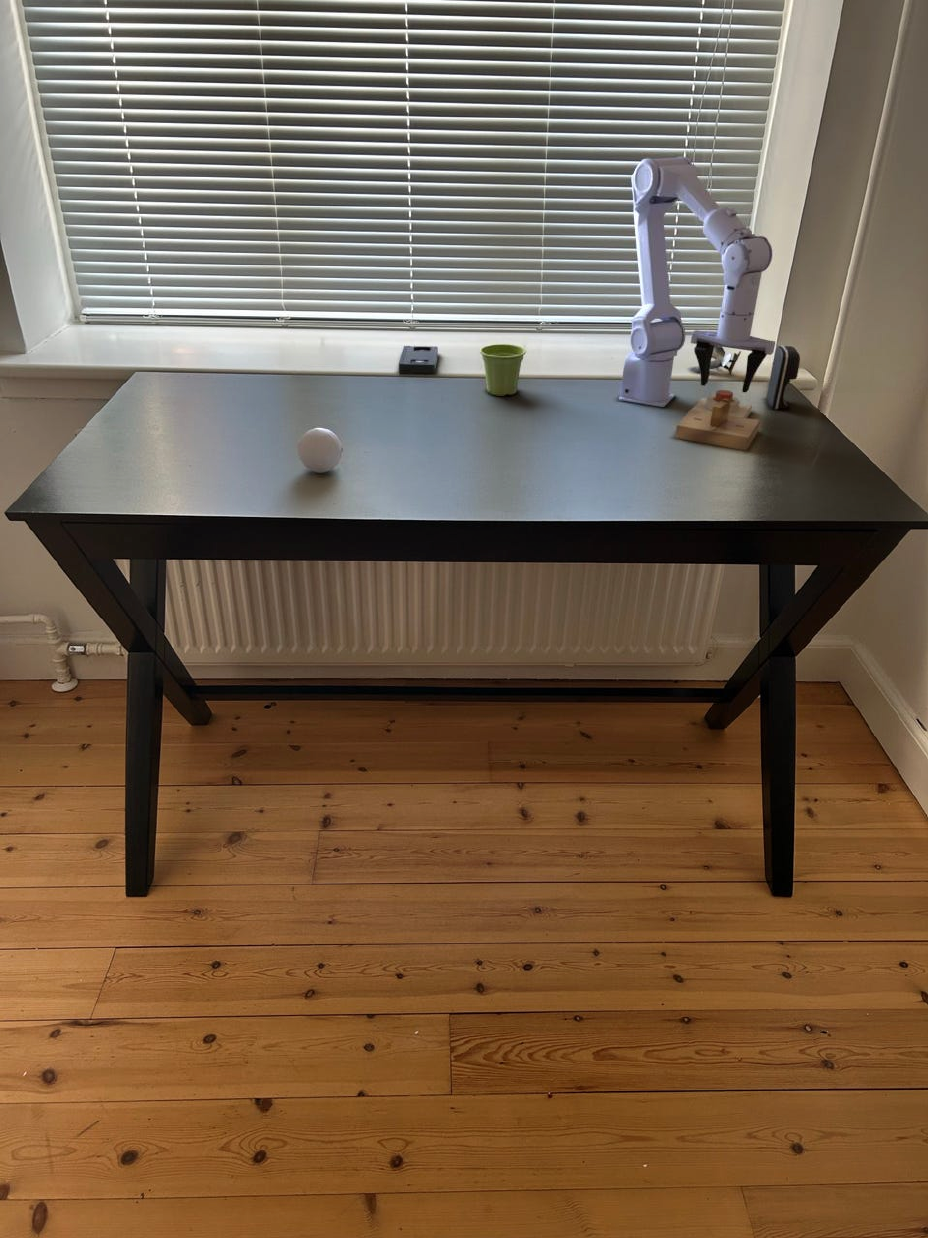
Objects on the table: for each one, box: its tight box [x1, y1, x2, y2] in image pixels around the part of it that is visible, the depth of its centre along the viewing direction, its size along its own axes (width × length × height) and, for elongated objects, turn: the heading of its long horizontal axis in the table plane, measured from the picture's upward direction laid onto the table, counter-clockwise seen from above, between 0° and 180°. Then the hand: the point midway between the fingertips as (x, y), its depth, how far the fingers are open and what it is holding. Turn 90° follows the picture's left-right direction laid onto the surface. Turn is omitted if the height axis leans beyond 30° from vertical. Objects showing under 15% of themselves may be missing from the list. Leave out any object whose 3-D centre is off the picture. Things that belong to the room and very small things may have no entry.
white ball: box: [297, 427, 344, 474], centre depth 148 cm, size 10×7×7 cm
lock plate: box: [674, 408, 761, 451], centre depth 163 cm, size 13×10×3 cm
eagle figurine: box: [691, 346, 742, 376], centre depth 195 cm, size 8×7×9 cm
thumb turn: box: [710, 398, 731, 427], centre depth 161 cm, size 5×1×4 cm, turn 144°
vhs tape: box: [398, 345, 439, 374], centre depth 200 cm, size 14×8×2 cm, turn 179°
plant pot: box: [479, 343, 527, 397], centre depth 182 cm, size 9×9×9 cm
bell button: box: [715, 389, 734, 402], centre depth 172 cm, size 3×3×2 cm
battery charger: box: [765, 345, 801, 410], centre depth 175 cm, size 7×4×11 cm, turn 174°
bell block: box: [692, 394, 753, 418], centre depth 173 cm, size 10×8×3 cm
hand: (724, 387), depth 163 cm, fingers open, 7 cm apart
